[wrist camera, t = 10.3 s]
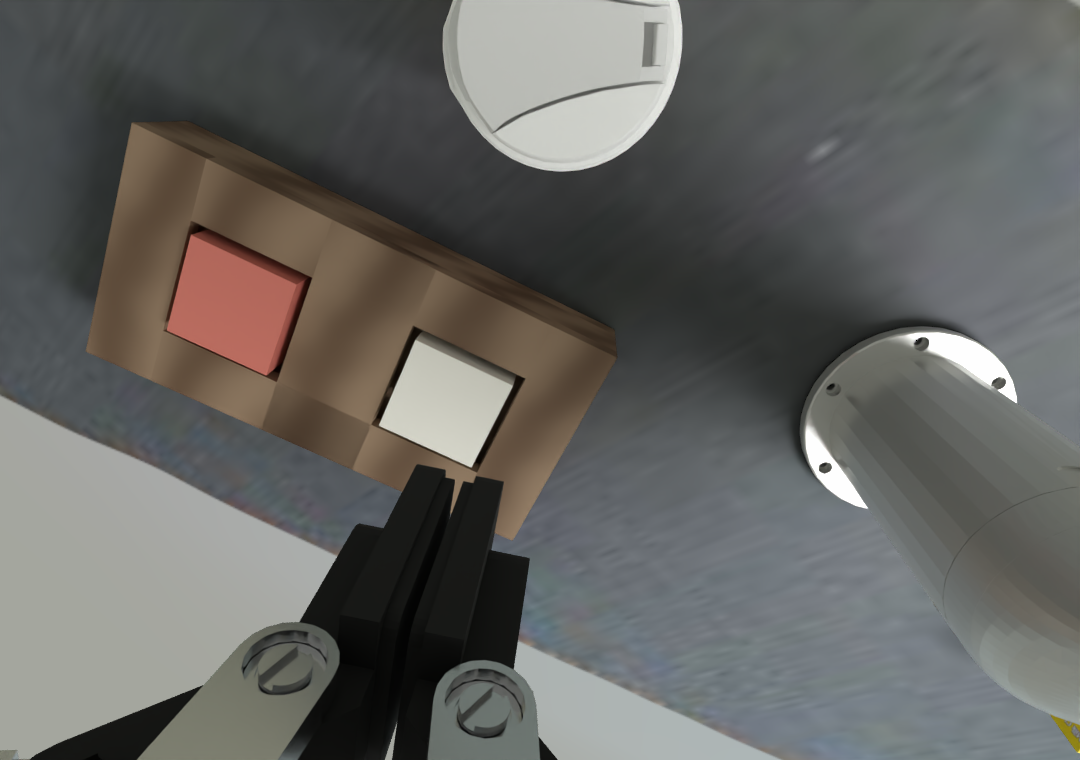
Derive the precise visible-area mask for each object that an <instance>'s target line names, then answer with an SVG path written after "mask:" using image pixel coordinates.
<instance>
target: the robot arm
mask: <svg viewBox="0 0 1080 760" xmlns="http://www.w3.org/2000/svg"><path fill="white" fill-rule="evenodd" d="M918 338H919V339H918ZM917 339H918V341H916V342H915V340H917ZM830 384H832V386H830V387H827V386H829V385H830ZM800 439H801V446H802V450H803V453H804V455H805V458H806V460H807V463H808V465H809V466H810V468H811V470H812V472H813V473H814V475H815V476H816V477H817V479H818V480H819V481H820V482H821V483H822V484H823V486H824V487H825V488H826V489H827V490H829V491H830V492H831V493H833V494H834V495H835V496H837V497H838V498H840V499H842V500H844V501H846V502H848V503H850V504H852V505H854V506H858V507H862V508H865V509H869V511H870V512H871V514H872V515H873V517H874V518H875V520H876V521H877V523H878V524H879V525H880V527H881V528H882V530H883V531H884V533H885V534H886V536H887V537H888V539H889V540H890V541H891V543H892V544H893V546H894V547H895V549H896V550H897V552H898V553H899V554H900V556H901V557H902V559H903V560H904V562H905V563H906V565H907V566H908V568H909V569H910V570H911V572H912V573H913V575H914V576H915V578H916V579H917V581H918V582H919V584H920V585H921V586H922V588H923V589H924V591H925V592H926V594H927V595H928V597H929V598H930V600H931V601H932V602H933V604H934V605H935V607H936V608H937V610H938V611H939V612H940V614H941V615H942V617H943V618H944V620H945V621H946V623H947V624H948V626H949V627H950V629H951V630H952V631H953V633H954V634H955V635H956V636H957V638H958V639H959V641H960V642H961V644H962V645H963V647H964V648H965V649H966V651H967V652H968V654H969V655H970V656H971V658H972V659H973V660H974V661H975V662H976V664H977V665H978V666H979V667H980V668H981V669H982V670H983V671H984V672H985V673H986V674H987V675H988V676H989V677H990V678H991V679H992V680H993V681H994V682H995V683H997V684H998V685H999V686H1001V687H1002V688H1003V689H1005V690H1006V691H1008V692H1009V693H1010V694H1012V695H1013V696H1015V697H1016V698H1018V699H1020V700H1021V701H1023V702H1025V703H1027V704H1029V705H1031V706H1033V707H1035V708H1037V709H1040V710H1042V711H1044V712H1046V713H1048V714H1051V715H1053V716H1056V717H1058V718H1061V719H1064V720H1067V721H1070V722H1073V723H1076V724H1078V725H1080V447H1079V446H1078V445H1076V444H1075V443H1074V442H1072V441H1071V440H1069V439H1068V438H1066V437H1065V436H1063V435H1062V434H1061V433H1059V432H1058V431H1056V430H1055V429H1053V428H1052V427H1050V426H1049V425H1048V424H1046V423H1045V422H1043V421H1042V420H1040V419H1039V418H1037V417H1036V416H1035V415H1033V414H1032V413H1030V412H1029V411H1027V410H1026V409H1025V408H1023V407H1022V406H1020V405H1019V404H1017V394H1016V390H1015V386H1014V383H1013V379H1012V378H1011V376H1010V374H1009V372H1008V370H1007V368H1006V367H1005V365H1004V364H1003V363H1002V362H1001V360H1000V359H999V358H998V357H997V356H996V355H995V354H994V353H993V352H992V351H991V350H989V349H988V348H986V347H985V346H983V345H982V344H980V343H979V342H977V341H975V340H973V339H971V338H969V337H968V336H966V335H964V334H962V333H959V332H955V331H951V330H948V329H944V328H937V327H926V326H918V327H907V328H899V329H895V330H891V331H888V332H884V333H880V334H878V335H875V336H873V337H871V338H868V339H866V340H864V341H862V342H860V343H858V344H856V345H855V346H853V347H852V348H850V349H849V350H847V351H846V352H844V353H842V354H841V355H840V356H839V357H838V358H837V359H836V360H835V361H833V362H832V363H831V364H830V365H829V366H828V367H827V368H826V369H825V371H824V372H823V373H822V374H821V376H820V377H819V378H818V379H817V381H816V382H815V383H814V385H813V387H812V389H811V391H810V393H809V395H808V397H807V398H806V401H805V405H804V408H803V411H802V414H801V422H800ZM503 485H504V481H499V480H494V479H490V478H485V477H480V476H476V477H475V480H474V483H471V482H466V481H463V483H462V486H461V489H460V492H459V494H458V497H457V500H456V503H455V505H454V508H453V511H452V514H451V517H450V512H451V505H452V499H453V492H454V486H455V479H451V478H446V470H445V469H440V468H435V467H430V466H426V465H421V464H417V465H416V466H415V468H414V470H413V472H412V474H411V476H410V478H409V480H408V482H407V484H406V486H405V488H404V490H403V492H402V493H401V495H400V497H399V499H398V501H397V503H396V505H395V507H394V509H393V511H392V513H391V515H390V517H389V519H388V521H387V523H386V525H385V527H384V528H379V527H374V526H369V525H364V524H358V525H356V526H355V528H354V529H353V531H352V532H351V534H350V536H349V538H348V539H347V541H346V543H345V544H344V546H343V548H342V550H341V551H340V553H339V555H338V556H337V558H336V560H335V562H334V563H333V565H332V567H331V569H330V570H329V572H328V574H327V575H326V577H325V579H324V581H323V582H322V584H321V586H320V587H319V589H318V591H317V593H316V595H315V596H314V598H313V599H312V601H311V603H310V605H309V606H308V608H307V610H306V612H305V613H304V615H303V617H302V618H301V620H300V622H294V623H293V622H291V623H280V624H277V625H273V626H269V627H266V628H264V629H262V630H260V631H258V632H256V633H254V634H252V635H251V636H250V637H249V638H247V639H246V640H245V641H244V642H243V643H242V644H240V645H239V646H238V648H237V649H236V650H235V651H234V652H233V653H232V654H231V655H230V656H229V658H228V659H227V660H226V661H225V662H224V663H223V664H222V665H221V667H220V668H219V669H218V670H217V671H216V672H215V673H214V674H213V675H212V676H211V678H210V679H209V680H208V681H207V682H206V683H205V684H204V685H202V686H200V687H197V688H195V689H193V690H190V691H188V692H185V693H182V694H180V695H177V696H175V697H173V698H170V699H167V700H165V701H163V702H160V703H157V704H155V705H152V706H150V707H148V708H145V709H142V710H140V711H138V712H135V713H132V714H130V715H127V716H125V717H123V718H120V719H118V720H115V721H113V722H110V723H107V724H105V725H102V726H100V727H97V728H95V729H92V730H90V731H88V732H85V733H83V734H80V735H77V736H75V737H73V738H70V739H67V740H65V741H63V742H60V743H58V744H56V745H54V746H52V747H50V748H48V749H46V750H44V751H42V752H40V753H38V754H36V755H35V756H34V757H32V758H31V759H19V756H18V751H17V750H2V751H0V760H385V757H386V754H387V751H388V748H389V745H390V742H391V739H392V736H393V732H394V729H395V726H396V723H397V728H396V735H395V743H394V750H393V758H392V760H557V758H556V757H555V756H554V755H553V754H552V752H551V751H550V750H549V749H548V748H547V746H546V745H545V744H544V743H543V741H542V740H541V739H540V738H539V737H538V724H537V710H536V702H535V698H534V695H533V691H532V690H531V688H530V687H529V685H528V683H527V682H526V680H525V679H524V678H523V677H522V676H521V675H519V674H518V673H517V672H516V671H515V670H514V663H515V656H516V649H517V643H518V636H519V629H520V622H521V616H522V609H523V602H524V595H525V588H526V582H527V575H528V568H529V561H530V558H526V557H521V556H516V555H511V554H507V553H502V552H497V551H492V550H491V548H492V543H493V538H494V533H495V528H496V522H497V517H498V512H499V507H500V501H501V496H502V491H503ZM449 518H450V519H449ZM397 720H398V721H397Z"/></svg>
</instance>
